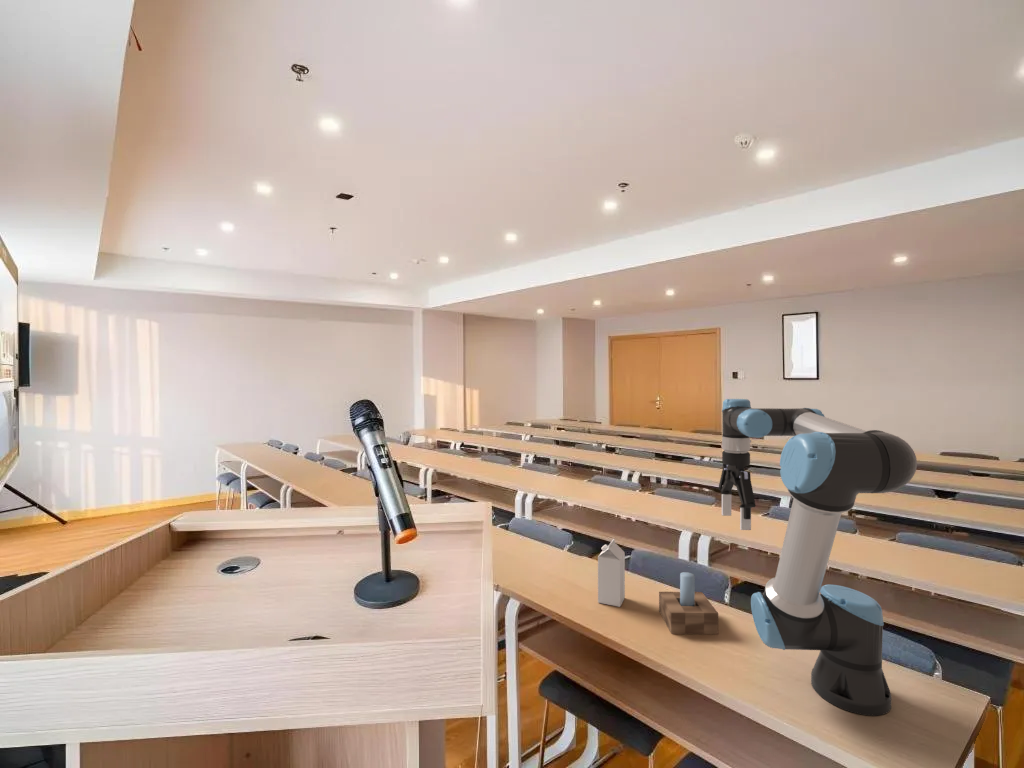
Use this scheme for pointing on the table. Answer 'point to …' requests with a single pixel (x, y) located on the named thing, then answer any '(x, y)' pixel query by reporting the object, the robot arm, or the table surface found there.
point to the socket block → (688, 614)
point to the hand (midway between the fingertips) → (735, 522)
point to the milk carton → (611, 575)
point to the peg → (687, 589)
